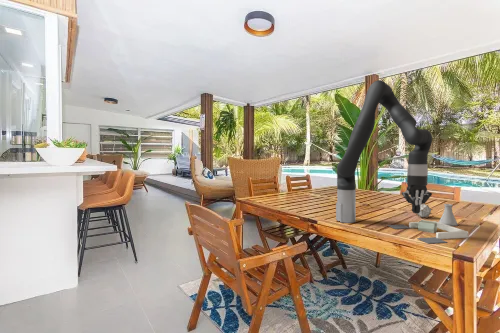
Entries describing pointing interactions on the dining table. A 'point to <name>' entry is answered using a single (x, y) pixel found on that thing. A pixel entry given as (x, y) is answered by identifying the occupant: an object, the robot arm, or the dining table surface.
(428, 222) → the sage block
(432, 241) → the mats
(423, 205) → the game die
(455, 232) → the grey u-shaped bracket
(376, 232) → the dining table surface
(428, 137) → the robot arm
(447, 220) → the flask
